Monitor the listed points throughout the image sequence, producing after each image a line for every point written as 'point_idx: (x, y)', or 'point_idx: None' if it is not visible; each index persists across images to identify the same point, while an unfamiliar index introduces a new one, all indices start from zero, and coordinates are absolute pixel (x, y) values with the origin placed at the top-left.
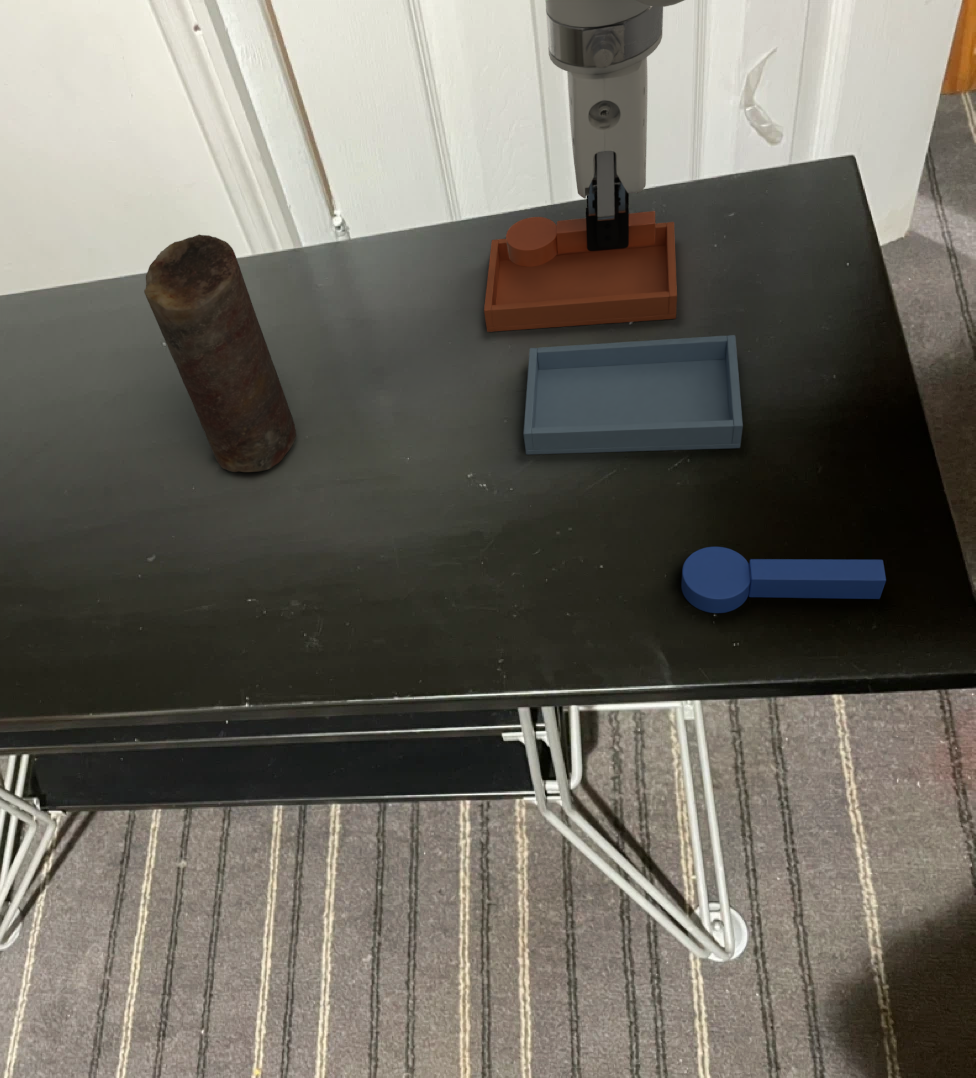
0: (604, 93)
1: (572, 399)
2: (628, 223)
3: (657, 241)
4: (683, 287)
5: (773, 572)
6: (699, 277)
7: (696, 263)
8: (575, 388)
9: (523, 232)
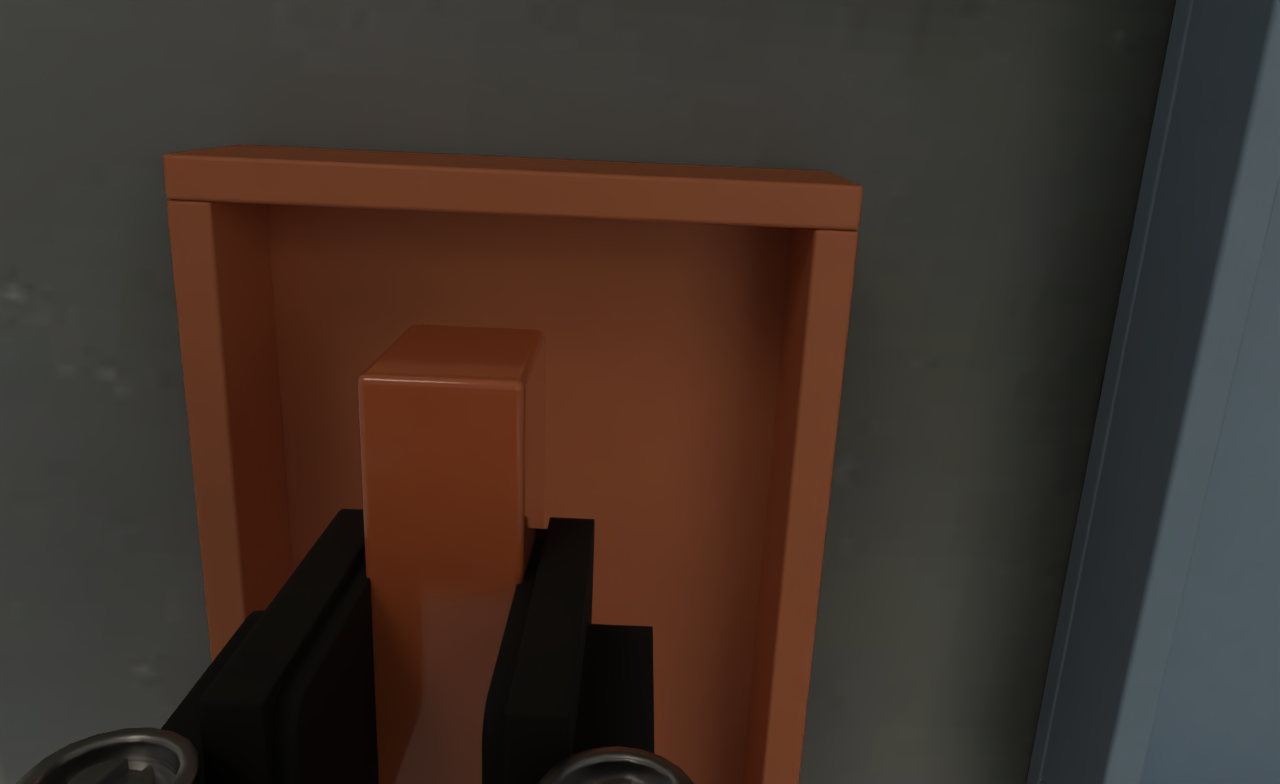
0: None
1: None
2: (579, 614)
3: (257, 239)
4: (590, 115)
5: None
6: (521, 23)
7: (402, 30)
8: (1230, 642)
9: None
